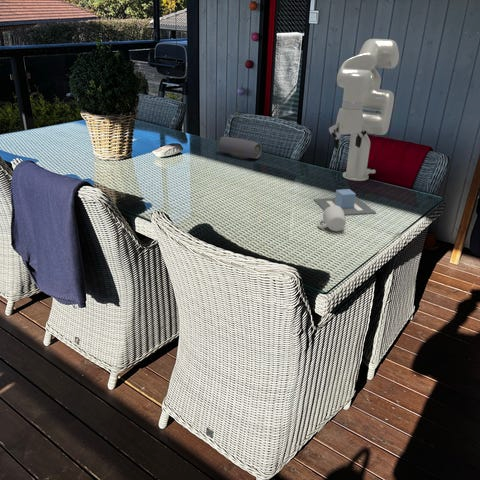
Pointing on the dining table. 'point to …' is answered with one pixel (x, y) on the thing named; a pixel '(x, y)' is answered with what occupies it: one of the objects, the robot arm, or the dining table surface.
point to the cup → (333, 218)
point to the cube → (345, 198)
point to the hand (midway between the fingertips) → (346, 147)
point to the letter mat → (357, 210)
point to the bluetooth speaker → (240, 147)
